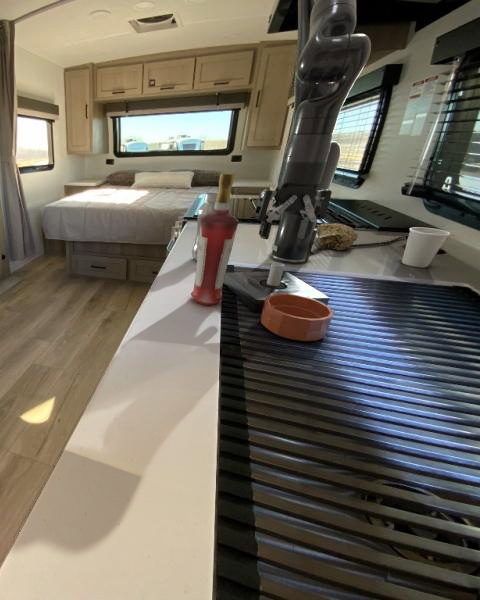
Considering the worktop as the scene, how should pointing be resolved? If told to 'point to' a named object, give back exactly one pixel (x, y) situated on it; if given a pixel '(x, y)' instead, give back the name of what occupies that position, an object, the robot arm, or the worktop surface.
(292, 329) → the bowl
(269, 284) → the plug
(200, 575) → the worktop surface
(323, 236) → the sponge
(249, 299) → the sink plate
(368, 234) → the worktop surface
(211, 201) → the plastic bottle
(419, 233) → the dixie cup
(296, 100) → the robot arm
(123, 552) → the worktop surface
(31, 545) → the worktop surface
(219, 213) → the liquor
